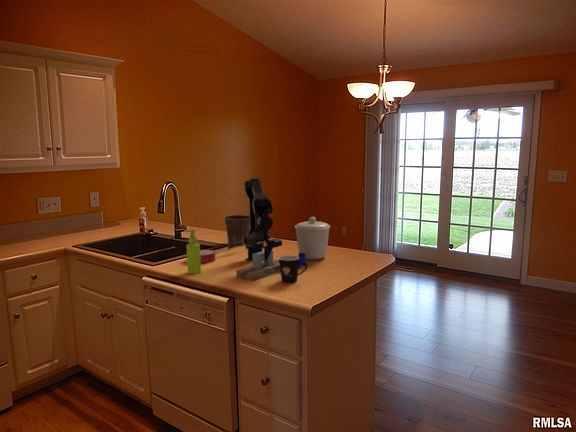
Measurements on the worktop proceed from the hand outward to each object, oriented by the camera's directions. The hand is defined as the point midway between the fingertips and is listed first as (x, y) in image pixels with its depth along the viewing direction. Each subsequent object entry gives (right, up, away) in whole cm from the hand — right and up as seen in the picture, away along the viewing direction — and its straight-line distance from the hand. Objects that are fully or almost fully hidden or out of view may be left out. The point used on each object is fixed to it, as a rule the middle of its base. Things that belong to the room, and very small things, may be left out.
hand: (263, 259), depth 196 cm
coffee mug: (+13, -8, -13) cm, 20 cm away
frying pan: (-26, -2, +32) cm, 41 cm away
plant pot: (-18, +3, +63) cm, 66 cm away
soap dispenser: (-32, -6, +3) cm, 33 cm away
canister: (+24, -2, +26) cm, 36 cm away
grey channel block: (0, -5, +1) cm, 5 cm away
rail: (0, -6, +1) cm, 6 cm away
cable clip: (+15, -5, +8) cm, 18 cm away
